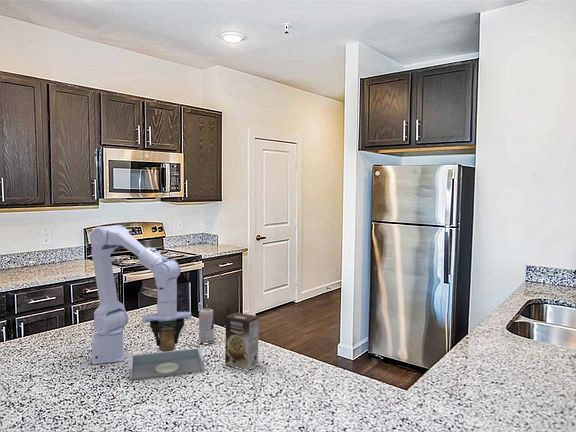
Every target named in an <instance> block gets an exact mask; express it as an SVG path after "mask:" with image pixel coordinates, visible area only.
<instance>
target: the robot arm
mask: <svg viewBox="0 0 576 432" xmlns="http://www.w3.org/2000/svg"><path fill="white" fill-rule="evenodd" d="M89 240H90V245H91V258H92V264H93V270H94V275H95V276H94V277H95V280H96V281H95V282H96V288H97V294H98V302H99V305H98V307H97V308H96V309H95V311H93V318H94V319H93V329H94V330H95V333H93V334H92V337H91V338H92V339H91V340H92V341H91V365H98V364H107V363H108V364H109V363H115V362H117V363H119V362H124V361H125V354H126V351H125V350H124V330H125V327H126V326H127V325H128V323H129V315H128V313H127V311H126V308H125V304H124V303H122V302H120V301H119V300H118V294H117V289H116V284H115V282H116V281H115V276H114V271H113V264H112V257H111V254H112V253H113V252H114V251H115V249H117V248H118V247H119V246H122V247H123V248H125V249H126V250H127V251H129V252H130V253H132V254H134V255H136V256H137V257H138V262H139V263H140V264H141V265H142V266H144V267H145V268H147V269H148V271H151V272H152V276H153V277H154V280H155V285H156V287H157V289H156V291H157V292H156V293H157V294H156V295H157V296H156V297H157V298H156V302H157V303H156V306H157V308H156V310H157V313H152V314H145V315H144V314H143V315H141V321H142V322H141V323H142V324H146V323H149V327H150V329H151V331H152V332H153V335H154V338H155V341H156V346H158V347H159V323H158V321H170V320H175V345H177V344H178V342H179V338H180V337H179V336H180V335H181V332H182V329H183V327H184V325H185V320H189V321H190V320H192V312H191V311H181V312H177V290H178V285H177V284H178V282H177V281H178V277H179V276H180V275H181V270H182V269H181V266H180V264H179V263H178V261H177V260H175V259H170V260H169V259H168V257H166V256H164V255H162V254H161V253H160V252H158V251H157V248H156V247H145V246H144V245H143V244H142V243H140V241H138V239H136V238H135V237H134V236H133V235H132V234H131V233H130V232H129V229H128V228H126V227H125V226H124V225H122V224H117V225H108V226H107V225H106V226H96V227H94V228H93V229H92V231H91V232H90V233H89Z"/></svg>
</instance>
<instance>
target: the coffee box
mask: <svg viewBox="0 0 576 432" xmlns="http://www.w3.org/2000/svg"><path fill="white" fill-rule="evenodd" d="M259 330H260V316H258V315H254V314H253V315H252V314H247V313H241V312H235V313H231V314H229V315H226V316H225V344H224V345H225V350H224V351H225V353H224V354H225V359H224V360H225V361H224V365H225V366H226V365H229V366H233V367H238V368H241V369H246V370H249V369H250V368H252V367H253V366H255V365H256V364H258V365H259V333H260V332H259ZM229 366H228V367H229ZM233 367H232V368H233ZM255 367H256V366H255ZM241 369H240V370H241ZM252 369H253V368H252ZM249 371H250V370H249Z"/></svg>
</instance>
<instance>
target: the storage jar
mask: <svg viewBox="0 0 576 432" xmlns="http://www.w3.org/2000/svg"><path fill="white" fill-rule="evenodd" d="M182 305H183V291H182V290H180V289H177V312H182ZM158 323H159V330H160V329H162V328H167V327H171V328H175V320H170V321H158Z"/></svg>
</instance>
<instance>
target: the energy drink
mask: <svg viewBox="0 0 576 432" xmlns="http://www.w3.org/2000/svg"><path fill="white" fill-rule="evenodd" d="M214 313H215V312H214V309H212V308H202V309H199V313H198V343H199V342H200V343H211V342H213V343H214V342H215V341H214V339H215V338H214V337H215V335H214V331H215V330H214V325H215V324H214V323H215V321H214V319H215V314H214ZM200 343H199V344H200Z"/></svg>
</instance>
